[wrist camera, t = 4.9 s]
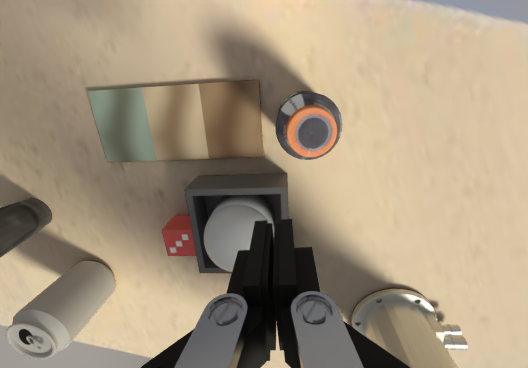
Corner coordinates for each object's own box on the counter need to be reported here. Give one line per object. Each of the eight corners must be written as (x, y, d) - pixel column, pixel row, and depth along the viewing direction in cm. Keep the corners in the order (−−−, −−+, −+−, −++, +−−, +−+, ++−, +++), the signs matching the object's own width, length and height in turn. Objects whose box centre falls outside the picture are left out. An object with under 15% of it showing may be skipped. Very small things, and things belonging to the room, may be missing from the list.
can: (76, 251, 40) (-5, 314, 29) (121, 264, 40) (58, 332, 29) (75, 285, 43) (1, 355, 32) (117, 298, 43) (58, 371, 32)
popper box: (287, 173, 33) (287, 187, 28) (289, 250, 37) (289, 273, 32) (166, 176, 34) (147, 190, 29) (181, 250, 38) (167, 272, 34)
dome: (273, 190, 32) (270, 222, 24) (276, 244, 35) (273, 289, 27) (210, 191, 33) (187, 223, 25) (218, 245, 36) (199, 288, 28)
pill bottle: (270, 101, 30) (263, 108, 19) (319, 83, 28) (340, 80, 18) (286, 148, 31) (287, 178, 21) (333, 132, 30) (358, 156, 20)
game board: (258, 79, 29) (258, 79, 28) (263, 155, 32) (262, 156, 31) (90, 90, 31) (86, 91, 30) (110, 161, 34) (107, 162, 33)
